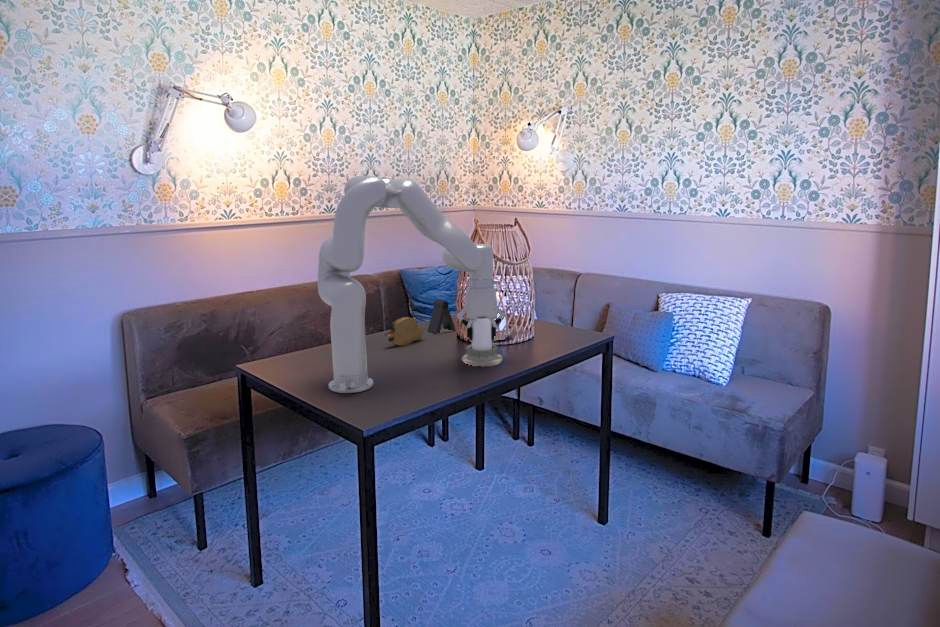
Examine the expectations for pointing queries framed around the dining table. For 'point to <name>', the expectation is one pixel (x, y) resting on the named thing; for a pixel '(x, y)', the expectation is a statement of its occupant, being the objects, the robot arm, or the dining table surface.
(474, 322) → the can
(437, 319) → the phone stand
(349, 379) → the robot arm
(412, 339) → the wooden carving
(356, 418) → the dining table surface
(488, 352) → the cup holder
